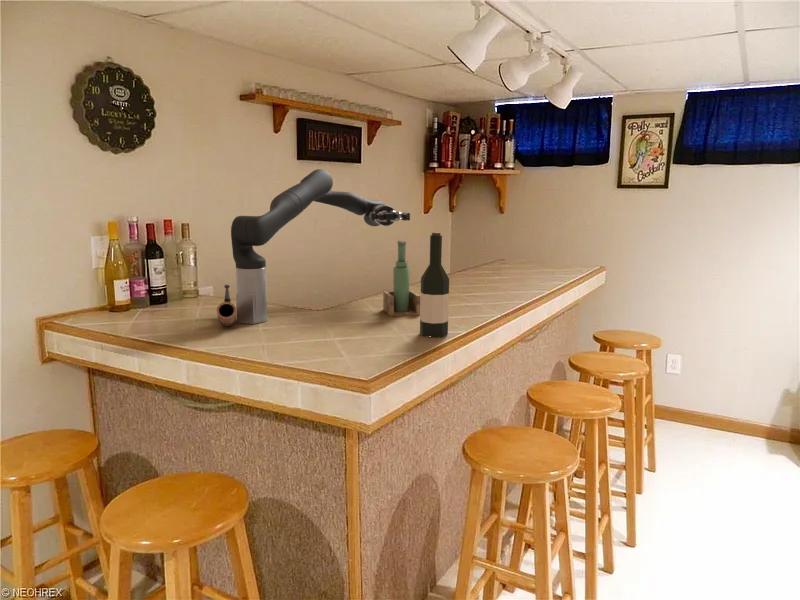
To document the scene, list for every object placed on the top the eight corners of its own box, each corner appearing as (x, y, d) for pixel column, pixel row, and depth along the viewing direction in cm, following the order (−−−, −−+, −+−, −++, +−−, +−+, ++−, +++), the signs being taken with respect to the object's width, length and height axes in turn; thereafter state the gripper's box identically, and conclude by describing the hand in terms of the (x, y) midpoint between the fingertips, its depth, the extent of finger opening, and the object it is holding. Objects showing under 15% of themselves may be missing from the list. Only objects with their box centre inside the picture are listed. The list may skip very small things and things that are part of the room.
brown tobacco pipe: (217, 334, 172) (216, 300, 170) (219, 313, 200) (218, 284, 198) (237, 333, 174) (235, 300, 172) (236, 312, 202) (235, 283, 200)
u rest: (420, 314, 201) (420, 295, 200) (390, 316, 199) (390, 296, 197) (411, 308, 211) (412, 290, 210) (383, 309, 209) (383, 291, 207)
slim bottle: (406, 312, 202) (407, 242, 197) (391, 311, 203) (391, 241, 198) (410, 309, 207) (411, 240, 202) (395, 308, 208) (396, 240, 204)
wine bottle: (445, 338, 171) (448, 234, 165) (417, 336, 173) (419, 233, 167) (449, 331, 179) (452, 231, 173) (422, 329, 181) (424, 231, 175)
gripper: (365, 205, 222) (374, 206, 207) (402, 205, 226) (414, 206, 210) (365, 225, 224) (374, 228, 208) (402, 225, 227) (413, 228, 212)
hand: (394, 217), depth 209 cm, fingers open, 8 cm apart
